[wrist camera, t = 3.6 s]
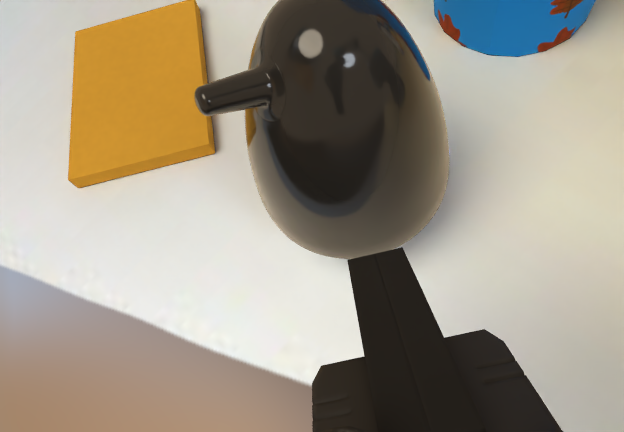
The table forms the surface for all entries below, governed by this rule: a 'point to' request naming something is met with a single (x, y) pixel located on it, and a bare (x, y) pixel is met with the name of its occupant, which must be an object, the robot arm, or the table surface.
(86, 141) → the mustard mat
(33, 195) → the table surface
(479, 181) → the table surface
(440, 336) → the robot arm
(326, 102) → the black glossy oval body
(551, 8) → the thermos
